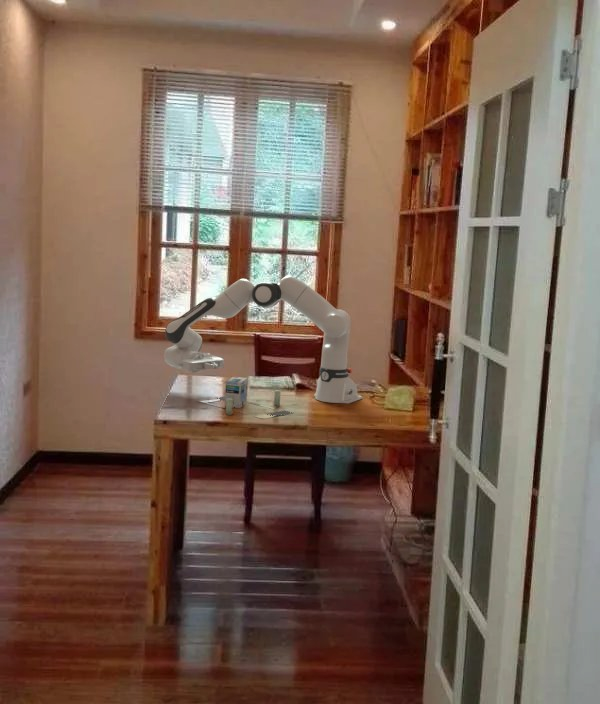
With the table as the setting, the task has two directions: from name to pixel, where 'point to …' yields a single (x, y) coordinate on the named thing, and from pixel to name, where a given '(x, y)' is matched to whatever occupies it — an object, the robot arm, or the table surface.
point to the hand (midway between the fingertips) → (215, 367)
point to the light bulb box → (237, 391)
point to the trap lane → (276, 402)
